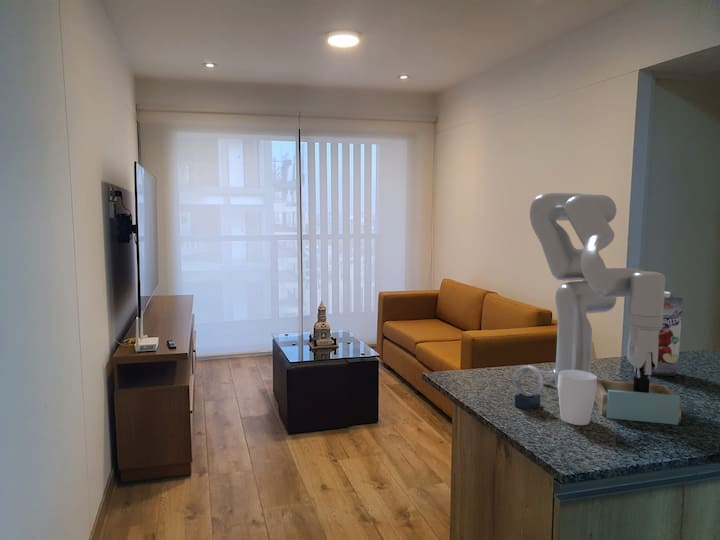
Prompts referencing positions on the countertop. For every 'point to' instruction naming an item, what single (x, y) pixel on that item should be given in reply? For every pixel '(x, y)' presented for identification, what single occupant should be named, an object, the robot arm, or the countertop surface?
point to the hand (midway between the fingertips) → (640, 392)
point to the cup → (576, 395)
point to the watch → (527, 398)
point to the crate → (625, 386)
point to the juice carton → (669, 336)
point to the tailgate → (643, 406)
